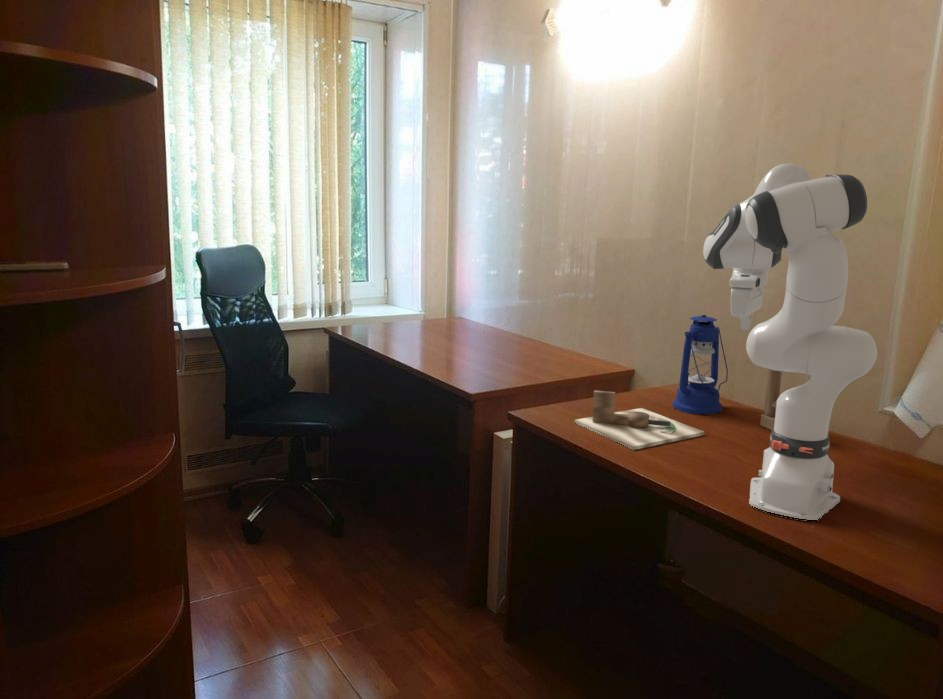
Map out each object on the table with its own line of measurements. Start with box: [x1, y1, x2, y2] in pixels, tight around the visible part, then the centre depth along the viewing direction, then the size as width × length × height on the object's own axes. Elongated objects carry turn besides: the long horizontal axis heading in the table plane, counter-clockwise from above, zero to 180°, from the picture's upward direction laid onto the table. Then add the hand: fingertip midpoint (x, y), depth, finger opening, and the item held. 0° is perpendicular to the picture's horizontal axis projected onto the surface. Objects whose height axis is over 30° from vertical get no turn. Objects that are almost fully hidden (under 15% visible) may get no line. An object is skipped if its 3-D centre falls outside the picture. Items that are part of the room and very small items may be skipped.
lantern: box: [672, 314, 729, 415], centre depth 224 cm, size 17×15×30 cm
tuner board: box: [574, 407, 705, 451], centre depth 206 cm, size 26×26×1 cm
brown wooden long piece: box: [592, 390, 671, 428], centre depth 205 cm, size 22×6×9 cm, turn 74°
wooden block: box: [760, 369, 783, 432], centre depth 203 cm, size 4×11×18 cm, turn 16°
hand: (745, 329), depth 191 cm, fingers closed
